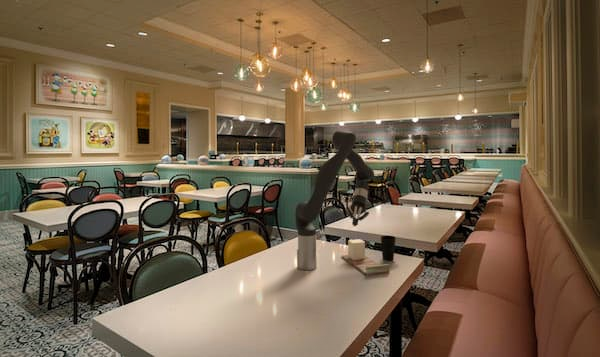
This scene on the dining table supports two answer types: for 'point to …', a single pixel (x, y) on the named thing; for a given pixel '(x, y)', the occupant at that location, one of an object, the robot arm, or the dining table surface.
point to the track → (367, 266)
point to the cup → (388, 247)
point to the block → (356, 249)
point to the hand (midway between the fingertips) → (354, 225)
